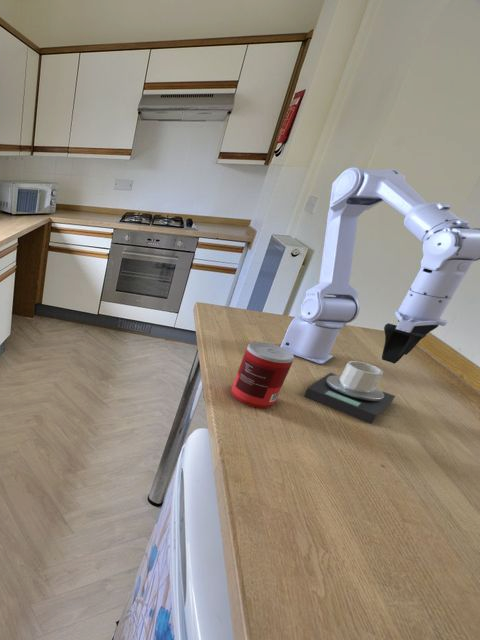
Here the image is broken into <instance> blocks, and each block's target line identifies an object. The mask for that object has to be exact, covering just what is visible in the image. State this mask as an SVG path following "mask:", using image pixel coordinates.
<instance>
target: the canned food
mask: <svg viewBox="0 0 480 640" xmlns="http://www.w3.org/2000/svg"><path fill="white" fill-rule="evenodd" d="M294 359H295V355H293V354H292V353H291V352H290V351H288V350H286V349H284V348H282V347H280V345H276V344H273V343H268V342H262V341H253V342H250V343H248V345H247V346H246V350H245V352H244V354H243V357H242V360H241V362H240V365H239V368H238V370H237V373H236V376H235V378H234V381H233V383H232V386H231V395H232V396H233V397H234V399H236V400H237V401H238V402H240V403H241V404H244V405H246V406H250V407H253V408H256V409H257V408H258V409H267V408H270V407H272V406H273V405H274V404H275V403H276V401H277V398H278V396H279V394H280V392H281V390H282V388H283V385H284V382H285V381H286V378H287V376H288V374H289V371H290V369H291V367H292V365H293V362H294Z"/></svg>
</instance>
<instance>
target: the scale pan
mask: <svg viewBox="0 0 480 640" xmlns="http://www.w3.org/2000/svg"><path fill="white" fill-rule="evenodd" d="M340 377H341V375H338V376H337V374H335V375H334V376H329V377H328V378H327V380H326V382H327V384H328V385H329V386H330V387H332V388H333V389H335V390H337V391H339V392H341V393H343V394H346V395H348V396H351V397H354V398H358V399H362V400H368V401H379V400H382V399H383V397H384V394H383V392H384V391H383V392H382V390H381V389H380V388H378V387H377V386H376V387H375V389H374V390H373V391H370V392H367V393H365V392H358V391H355V390H352V389H349V388H347V387H345V386H344V385H342V384H341V381H340Z"/></svg>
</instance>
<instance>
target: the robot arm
mask: <svg viewBox="0 0 480 640" xmlns="http://www.w3.org/2000/svg"><path fill="white" fill-rule="evenodd" d="M406 179H407V176H406V175H405V174H402V173H401V172H399V170H397V169H393V168H389V169H381V168H380V169H379V168H378V169H376V168H360V167H356V166H355V167H349V168H346V169H345V170H343V172H341V173H340V175H338V177H336V179H335V180H334V181H333V182H332V183H331V184H332V186H331V193H330V200H329V209H328V212H327V218H326V219H327V221H326V227H325V235H324V243H323V250H322V257H321V265H320V274H319V281H318V284H316V285H314V286H312V287H310V288H309V289H307V290H306V291H305V296H304V299H303V301H302V303H301V305H300V314H301V316H300V315H296V316H294V318H293V319H292V320H291V322H290V324H289V325H288V327H287V329H286V331H285V335H284V337H283V339H282V342H281V344H280V345H279V347H282V348H284V349H286V350H288V351H290V352H291V353H292V354H293V355H294V356H296V357H299V358H301V359H305V360H308V361H310V362H313V363H316V364H318V365H324V364H325V363H326V362H328V361H330V360H331V359H332V358H333V357H334V355H332V354H330V352H332V349H333V346H334V344H335V342H336V340H337V338H338V336H339V334H340V332H341V330H342V328H346V326H347V324H349V323H351V322H353V321H355V320H356V319H357V318H358V316H359V314H360V303H359V299H358V296H359V292H358V291H357V290H356V289H355V288H354V286H352V285H351V284H350V280H351V271H352V264H353V258H354V252H355V243H356V235H357V229H358V221H359V216H360V215H362V214H363V213H364V212H366V211H369V210H370V209H372V208H374V207H376V206H377V205H379V204H381V203H382V202H386V203H387V204H388V205H390V207H392V208H393V209H395V210H396V211H398V212H399V213H400V214H402V215H403V216H404V220H403V226H404V227H405V228H406V229H407V230H408V231H409V232H410V233H411V234H412V235H414V236H415V237H416V238H417V239H418V240H419V241H420V242H421V243H422V254H423V256H422V259H421V261H420V269H419V271H418V272H417V274H416V276H415V278H414V280H413V282H412V283H411V286H410V287H409V289H408V290H407V293H406V295H405V297H404V299H403V300H402V302H401V304H400V306H399V308H398V309H396V311H395V312H394V316H395V317H396V318H397V319H398V320H397V321H398V323H397V324H393V323H386V324H385V325H384V327H383V330H384V346H383V350H382V353H381V360H382V361H386V362H389V363H391V364H392V363H393V364H396V363H398V362H399V361H400V360H401V359H402V358H403V356H407V355H408V354H409V353H410V352H411V351H413V349H414V348H415V347H416V346H417V345H418V344H419V342H420V341H421V340H422V339H424V338H425V337H427V335H428V334H429V333H430V332H431V331H434V330H436V329H437V328H438V327H440V326H441V327H445V326H447V324H448V323H449V322H448V320H445V319H441V317H442V315H443V314H444V312H445V310H446V308H447V307H448V305H449V304H450V301H451V300H452V298H453V297H454V295H455V294H456V292H457V290H458V288H459V286H460V285H461V283H462V282H463V280H464V278H465V276H466V274H468V271H469V270H470V268H471V266H472V264H473V263H474V262H477V261H480V227H471V226H470V225H469V221H468V220H466V219H461V218H460V217H459V216H457V215H456V214H455V213H454V212H452V211H451V210H450V209H451V208H452V206H451V205H450V204H448V203H445V202H437V201H436V202H435V201H434V202H427V201H426V200H425V199H424V198H423V197H422V196H421V195H420V194H419V193H418V192H417V191H416V190H415V189H414V188H413V187H412V186H411V185H410V184H409V183H408V182H406Z"/></svg>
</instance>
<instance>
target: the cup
mask: <svg viewBox="0 0 480 640" xmlns="http://www.w3.org/2000/svg"><path fill="white" fill-rule="evenodd" d="M383 374H384V371H383V369H381V368H380V367H378V366H375V365H373V364H370V363H367V362H363V361H358V360H350V361H347V363H346V365H345V367H344V368H343V371H342V373H341V375H340V376H341V377H340V381H341V384H342V385H344V386H345V387H347V388H349V389H352V390H355V391H358V392H365V393H367V392H370V391H373V390H374V389H375V387H376V388H377V385H378V384H379V381H380V380H381V378H382V376H383Z"/></svg>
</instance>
